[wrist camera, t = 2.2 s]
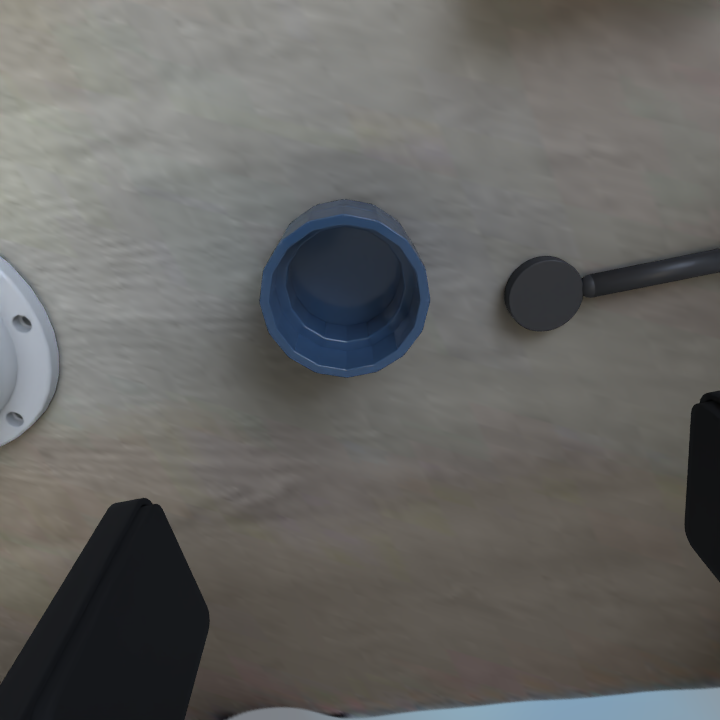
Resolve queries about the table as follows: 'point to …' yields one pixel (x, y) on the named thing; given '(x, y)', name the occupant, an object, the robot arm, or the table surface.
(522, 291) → the spoon
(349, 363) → the bowl
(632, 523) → the table surface
